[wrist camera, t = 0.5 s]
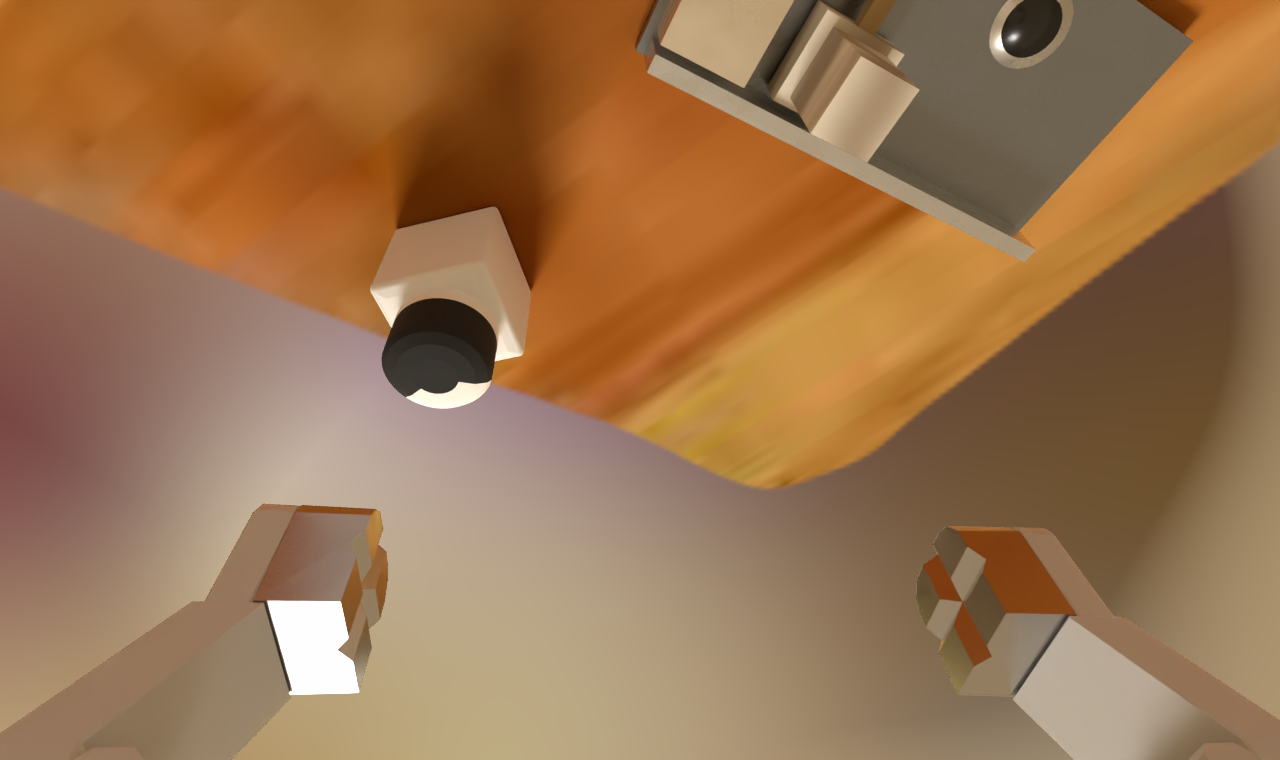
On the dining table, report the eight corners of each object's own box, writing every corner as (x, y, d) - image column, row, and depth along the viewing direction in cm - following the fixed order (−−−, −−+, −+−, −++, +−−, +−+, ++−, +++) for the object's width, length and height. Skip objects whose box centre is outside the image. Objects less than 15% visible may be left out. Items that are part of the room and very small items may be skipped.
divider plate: (635, 45, 40) (638, 68, 37) (773, -256, 32) (791, -258, 29) (1002, 234, 49) (1029, 264, 46) (1182, 36, 41) (1229, 57, 38)
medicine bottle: (393, 228, 47) (343, 340, 37) (497, 203, 46) (472, 311, 37) (437, 314, 51) (402, 433, 42) (533, 293, 50) (518, 410, 41)
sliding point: (766, 87, 40) (792, 136, 35) (873, -94, 35) (922, -70, 30) (837, 125, 42) (872, 177, 37) (950, -43, 37) (1010, -11, 31)
